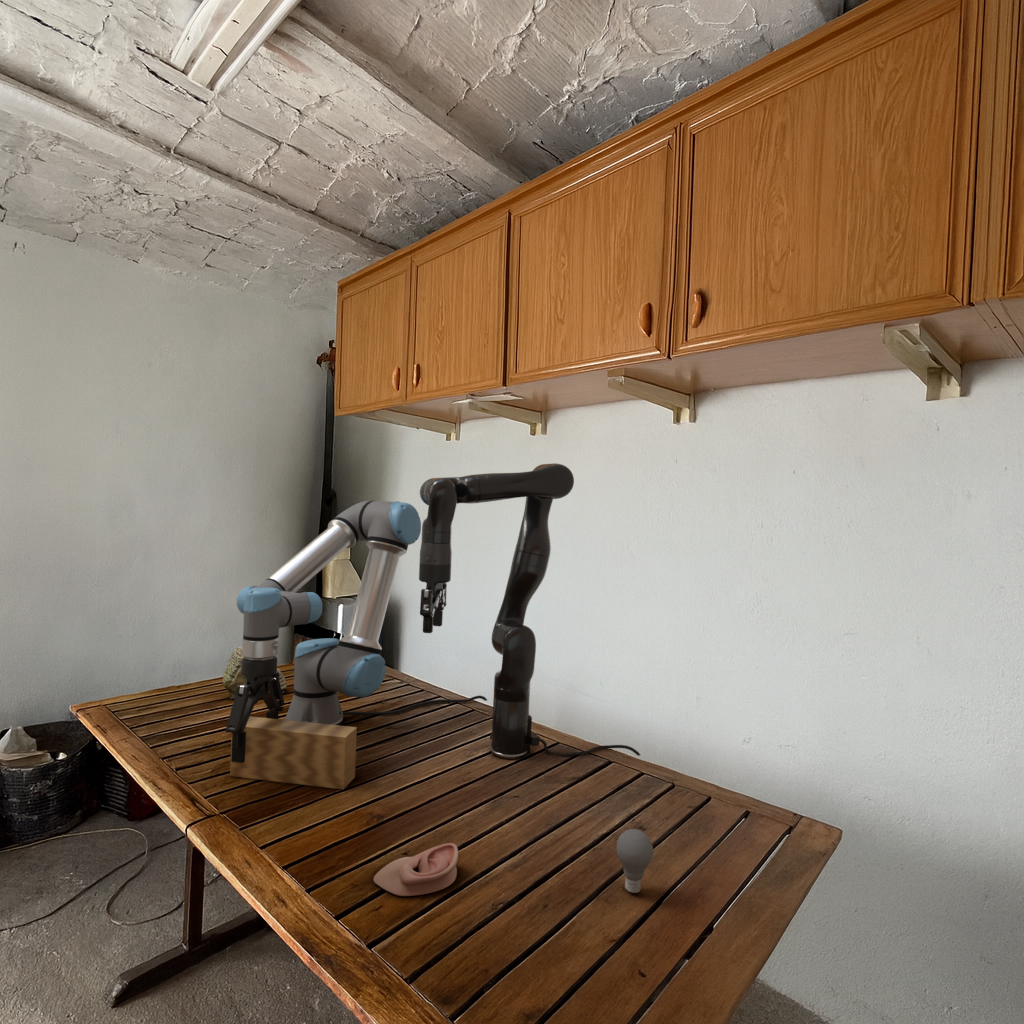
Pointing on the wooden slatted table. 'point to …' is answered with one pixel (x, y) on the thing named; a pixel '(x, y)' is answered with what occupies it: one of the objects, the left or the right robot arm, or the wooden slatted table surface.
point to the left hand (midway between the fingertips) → (255, 750)
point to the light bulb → (634, 857)
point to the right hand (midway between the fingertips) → (432, 629)
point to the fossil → (240, 674)
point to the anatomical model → (420, 872)
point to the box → (298, 753)
